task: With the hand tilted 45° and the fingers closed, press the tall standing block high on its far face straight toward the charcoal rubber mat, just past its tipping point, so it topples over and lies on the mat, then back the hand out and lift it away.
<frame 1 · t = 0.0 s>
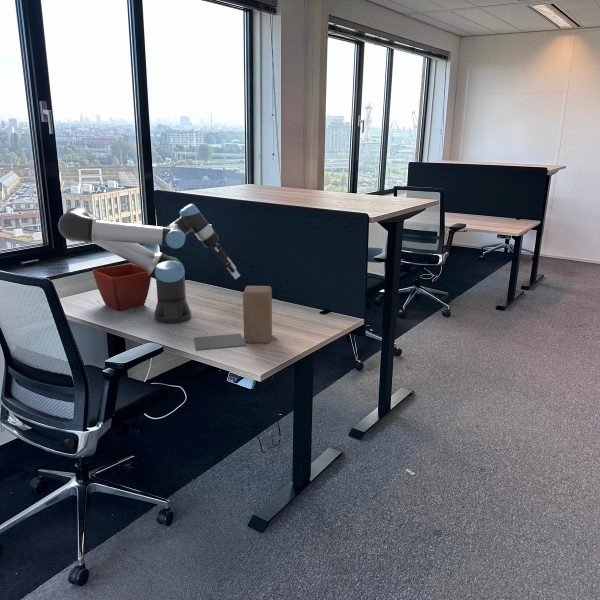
hand: (235, 273, 241), 14 cm above the table, tool tilted 35°, fingers open, 13 cm apart
block: (258, 339, 204), on the table
plant pot: (124, 306, 242), on the table, touching arm
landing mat: (219, 342, 201), on the table
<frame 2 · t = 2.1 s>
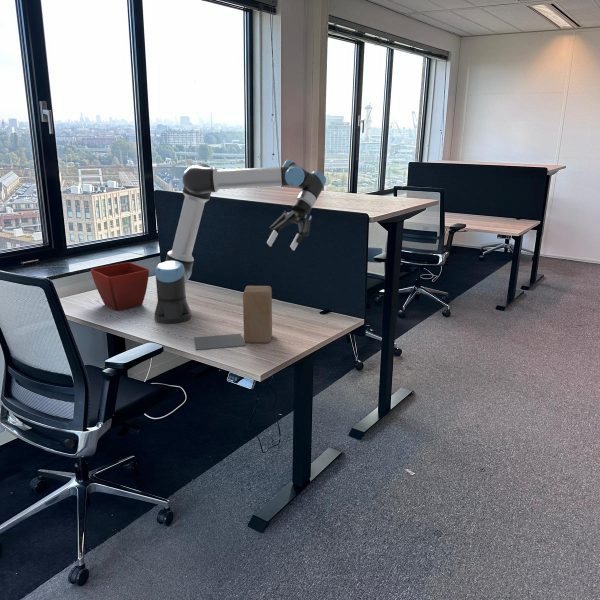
hand: (280, 246, 215), 32 cm above the table, tool tilted 45°, fingers open, 12 cm apart
plant pot: (123, 305, 242), on the table
everything else where it was.
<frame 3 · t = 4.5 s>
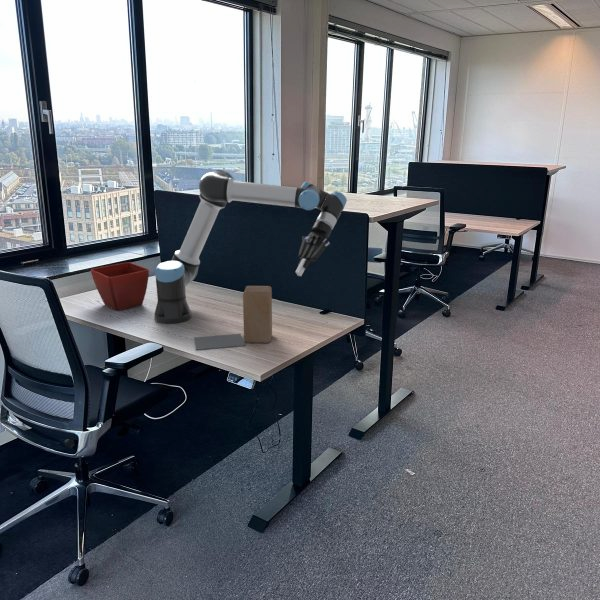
hand: (298, 274, 207), 23 cm above the table, tool tilted 45°, fingers closed
nothing on the table moved.
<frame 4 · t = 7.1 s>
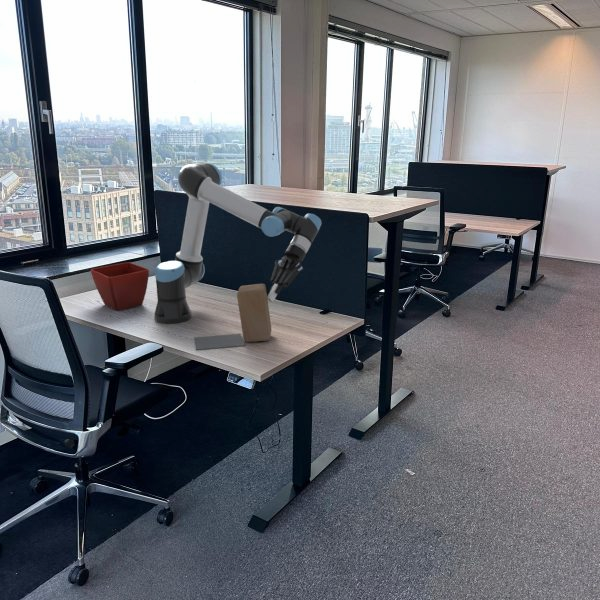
hand: (269, 299, 201), 15 cm above the table, tool tilted 45°, fingers closed
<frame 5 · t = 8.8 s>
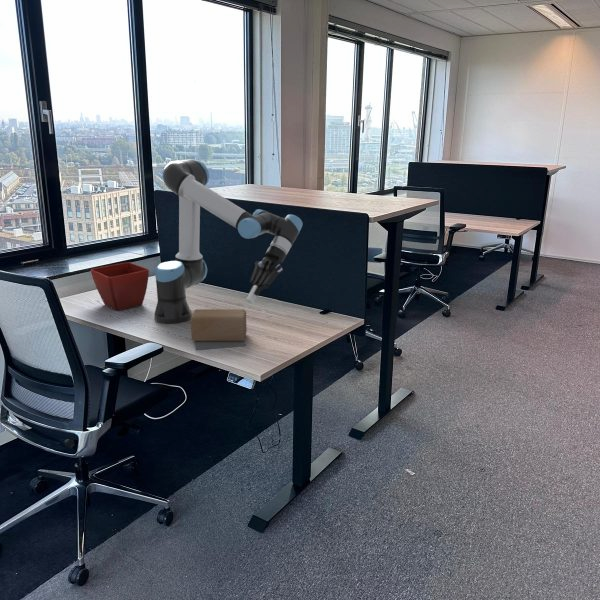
hand: (249, 301, 199), 15 cm above the table, tool tilted 45°, fingers closed
block: (246, 325, 203), point 5 cm above the table, touching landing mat
everything else where it was.
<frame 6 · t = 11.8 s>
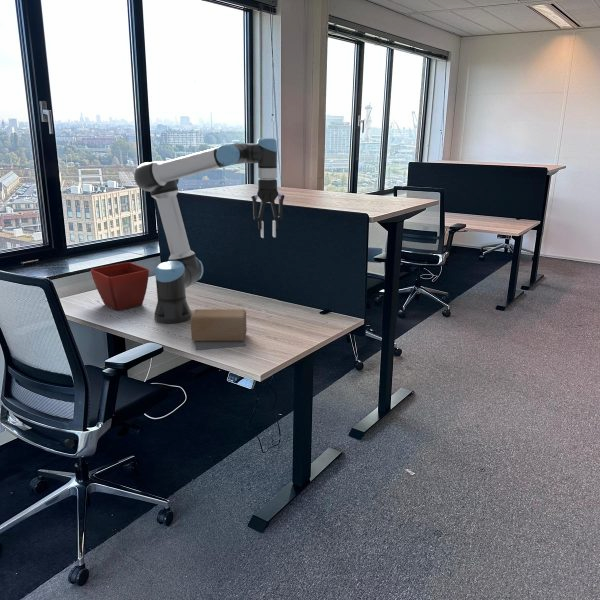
hand: (268, 236, 218), 35 cm above the table, tool pointing down, fingers open, 4 cm apart
nothing on the table moved.
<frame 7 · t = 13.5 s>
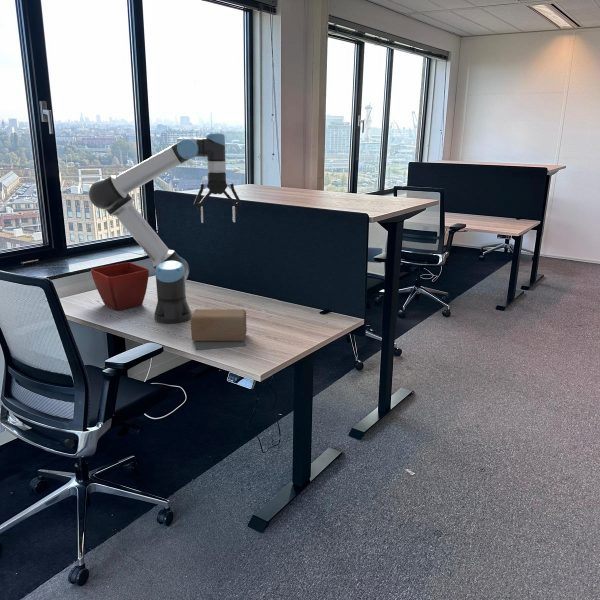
hand: (218, 222, 229), 38 cm above the table, tool pointing down, fingers open, 13 cm apart
nothing on the table moved.
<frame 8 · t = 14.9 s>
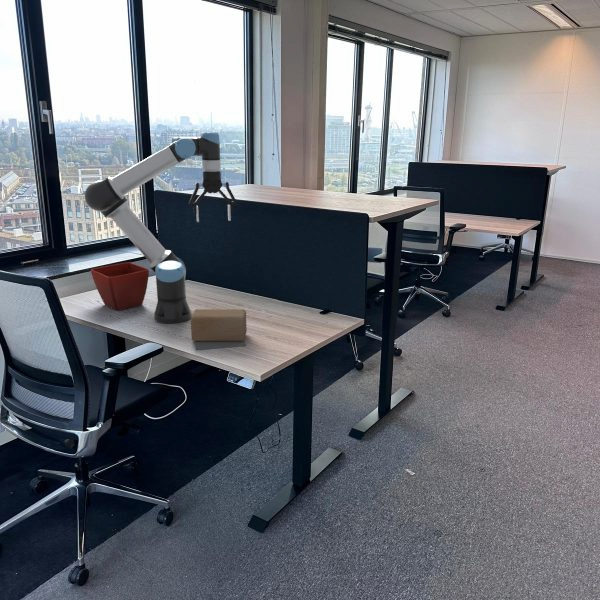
hand: (213, 220, 230), 39 cm above the table, tool pointing down, fingers open, 13 cm apart
nothing on the table moved.
at the end: block tilted 90°; block inside the target area on the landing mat (3.0 cm from its centre), point 5.4 cm above the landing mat's base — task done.
